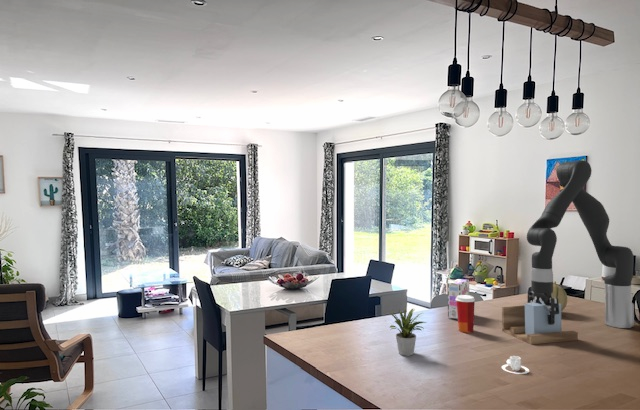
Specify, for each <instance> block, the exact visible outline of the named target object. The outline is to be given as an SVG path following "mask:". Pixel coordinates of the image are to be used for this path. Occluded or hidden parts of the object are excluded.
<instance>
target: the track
mask: <svg viewBox="0 0 640 410" xmlns="http://www.w3.org/2000/svg"><path fill="white" fill-rule="evenodd" d="M501 322H502V323H501V326H502V327H501V328H502V329H501V330H502V332H503V331H504V333H506V334H508V335H510V336H512V337H514V338H517V339H518V340H521V341H523V342H525V343H527V344H530V345H539V344H546V343H547V344H548V343H550V344H551V343H558V342H571V341H572V342H573V341H578V339H579V338H578V337H579V334H578V331H576V330H565V331H562V332H551V333H539V334H528V335H526V334H525V304H519V305H518V304H517V305H516V304H515V305H502V306H501Z"/></svg>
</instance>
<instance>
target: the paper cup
mask: <svg viewBox="0 0 640 410" xmlns="http://www.w3.org/2000/svg"><path fill="white" fill-rule="evenodd" d="M455 300H456V301H457V314H458V320H457V322H458V325H457V326H458V331H459V332H460V333H464V334H465V333H466V334H470V333H473V332H474V327H475V326H474V325H475V324H474V323H475V304H476V303H475V302H476V299H475V297H474V296H473V295H470V294H469V295H458V296H457V297H456V299H455Z"/></svg>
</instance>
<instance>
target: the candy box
mask: <svg viewBox="0 0 640 410" xmlns="http://www.w3.org/2000/svg"><path fill="white" fill-rule="evenodd" d="M458 295H469V296H470V279H463V278H457V279H455V280H452V281H450V282H448V283H447V319H450V320H456V321H458V314H457V301H456V300H455V299H456V297H457V296H458Z"/></svg>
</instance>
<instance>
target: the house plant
mask: <svg viewBox="0 0 640 410" xmlns="http://www.w3.org/2000/svg"><path fill="white" fill-rule="evenodd" d="M406 306H407V305H405V307H404V311H403V312H402V311H401V310H400V309H398V313H399V317H400V318H398V316H397V315H396V314H395V312H394V311H390V312H388V314H389V315H390V316H392V317H393V318H394V319H395V320H394V323H395V324H397V325H398V327H399V328H398V327H397V326H396V325H393V324H391V325H390V326H388V327H389V329H390V330H398V331H399V332H398V333H395V337H396V338H395V339H396V343H397V344H396V345H397V351H398V354H400V355H402V356H412V355H414V354H415V347H416V340H417V335H416V334H415V333H413V332H414V331H417V330H418V331H421V332H423V330H425V328H424V327H423V326H421V325H420V324H425V323H428V322H427V321H426V322H425V321H416V320H417V319H418V318H419V317H420V315H422V314H423V312H421V313H419V314H417V315H416V316H415V317H413V318H412V316H413V313H414V311H415V310H416V309H415V308H411V309H410V310H409V312H408V314H407V310H406V309H407V307H406ZM419 325H420V326H419ZM422 329H423V330H422Z"/></svg>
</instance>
